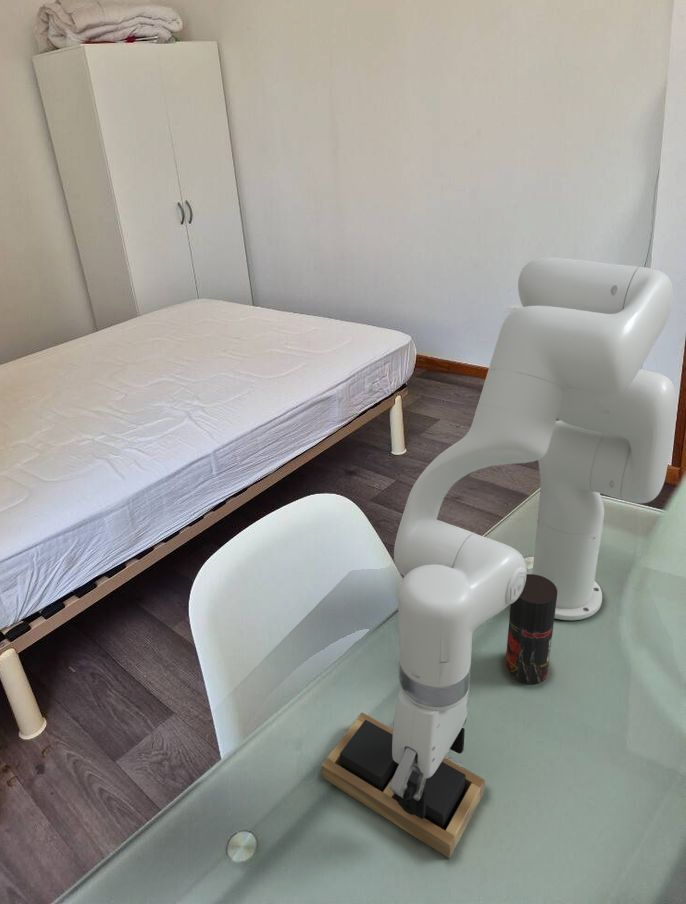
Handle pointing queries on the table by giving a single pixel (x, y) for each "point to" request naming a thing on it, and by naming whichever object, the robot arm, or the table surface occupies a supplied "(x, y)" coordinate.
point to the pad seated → (370, 755)
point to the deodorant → (531, 631)
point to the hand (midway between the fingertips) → (432, 777)
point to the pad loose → (442, 794)
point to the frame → (389, 805)
